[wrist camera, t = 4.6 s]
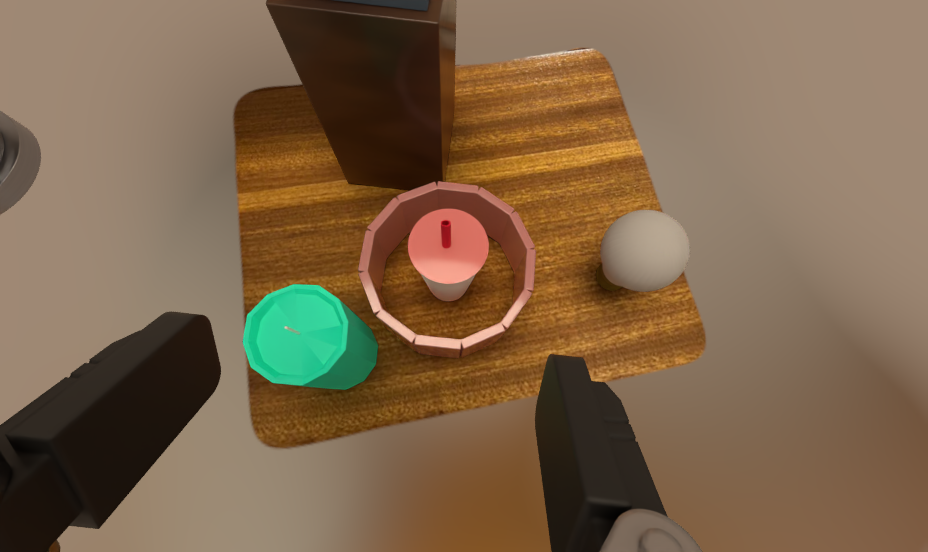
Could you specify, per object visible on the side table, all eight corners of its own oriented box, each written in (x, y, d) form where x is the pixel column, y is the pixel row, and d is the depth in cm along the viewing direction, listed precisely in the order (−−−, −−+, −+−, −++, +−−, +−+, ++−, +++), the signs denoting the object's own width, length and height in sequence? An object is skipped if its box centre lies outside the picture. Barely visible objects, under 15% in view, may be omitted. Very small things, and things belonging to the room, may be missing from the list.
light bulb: (574, 244, 37) (619, 190, 27) (639, 251, 37) (705, 199, 27) (573, 307, 35) (620, 272, 26) (640, 314, 35) (712, 282, 26)
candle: (292, 376, 33) (207, 362, 21) (323, 307, 34) (260, 260, 23) (361, 401, 32) (313, 401, 21) (389, 330, 34) (359, 294, 23)
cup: (421, 250, 36) (409, 181, 25) (481, 257, 36) (496, 190, 25) (413, 309, 35) (396, 263, 23) (476, 315, 35) (489, 273, 23)
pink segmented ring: (362, 347, 34) (344, 336, 28) (387, 208, 37) (376, 173, 32) (516, 364, 34) (529, 357, 28) (525, 224, 37) (539, 192, 32)
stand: (347, 183, 38) (264, 3, 21) (365, 104, 41) (303, -113, 23) (443, 194, 38) (438, 23, 21) (454, 114, 41) (458, -95, 24)
